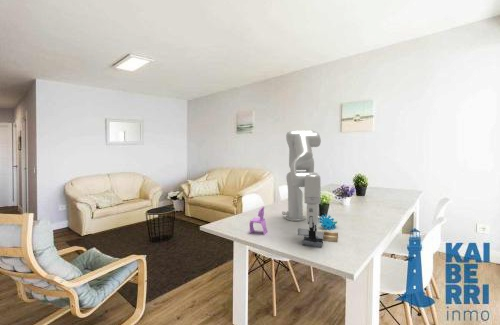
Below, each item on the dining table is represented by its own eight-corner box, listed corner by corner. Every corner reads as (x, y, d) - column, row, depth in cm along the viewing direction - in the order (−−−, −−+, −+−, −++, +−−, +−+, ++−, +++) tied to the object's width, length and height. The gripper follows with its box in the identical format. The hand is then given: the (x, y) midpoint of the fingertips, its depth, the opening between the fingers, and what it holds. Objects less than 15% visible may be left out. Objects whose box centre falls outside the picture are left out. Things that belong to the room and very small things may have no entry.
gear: (322, 228, 140) (318, 213, 147) (318, 233, 144) (314, 218, 151) (340, 230, 142) (335, 214, 149) (335, 234, 146) (331, 219, 153)
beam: (310, 239, 128) (310, 234, 128) (312, 234, 135) (312, 230, 135) (337, 242, 123) (337, 237, 123) (338, 237, 131) (338, 232, 130)
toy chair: (253, 229, 146) (253, 204, 145) (268, 231, 143) (267, 205, 142) (248, 234, 138) (248, 207, 138) (263, 236, 135) (263, 208, 134)
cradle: (302, 246, 120) (302, 240, 120) (304, 241, 126) (304, 236, 126) (321, 248, 117) (321, 243, 116) (323, 243, 123) (323, 238, 123)
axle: (297, 235, 122) (297, 229, 122) (298, 233, 125) (298, 227, 125) (322, 239, 118) (323, 233, 117) (323, 237, 121) (323, 231, 120)
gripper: (318, 203, 111) (318, 244, 112) (322, 197, 126) (322, 232, 127) (301, 202, 114) (301, 242, 115) (307, 196, 129) (307, 231, 130)
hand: (312, 237), depth 121 cm, fingers closed on axle, 3 cm apart
